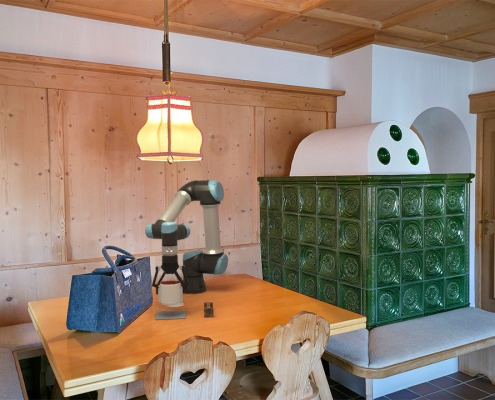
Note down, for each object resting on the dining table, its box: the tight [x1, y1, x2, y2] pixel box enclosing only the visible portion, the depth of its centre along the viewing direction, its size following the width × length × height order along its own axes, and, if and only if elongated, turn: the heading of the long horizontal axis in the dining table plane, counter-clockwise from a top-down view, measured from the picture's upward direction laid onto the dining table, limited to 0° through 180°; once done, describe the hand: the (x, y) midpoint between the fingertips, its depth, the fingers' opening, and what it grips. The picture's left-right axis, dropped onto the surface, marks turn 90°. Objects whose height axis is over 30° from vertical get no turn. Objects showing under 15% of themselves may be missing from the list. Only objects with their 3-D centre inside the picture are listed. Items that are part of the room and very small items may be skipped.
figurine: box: [166, 276, 184, 308], centre depth 249 cm, size 9×9×15 cm
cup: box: [159, 280, 181, 306], centre depth 229 cm, size 10×10×10 cm
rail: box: [203, 301, 215, 318], centre depth 232 cm, size 12×4×4 cm, turn 6°
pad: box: [154, 309, 187, 321], centre depth 230 cm, size 14×14×1 cm
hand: (170, 300), depth 229 cm, fingers closed on cup, 10 cm apart
